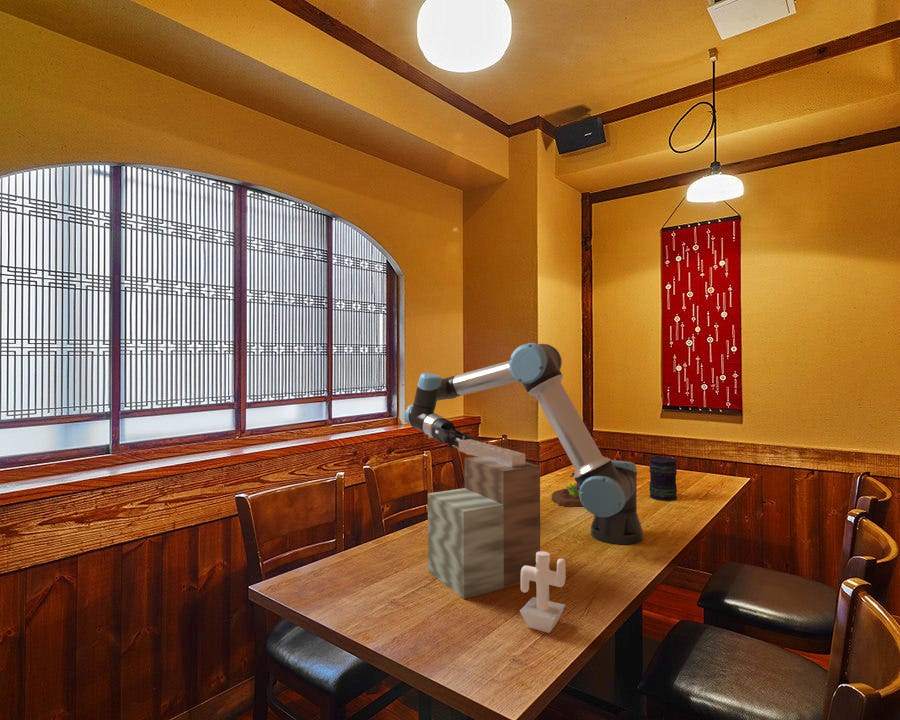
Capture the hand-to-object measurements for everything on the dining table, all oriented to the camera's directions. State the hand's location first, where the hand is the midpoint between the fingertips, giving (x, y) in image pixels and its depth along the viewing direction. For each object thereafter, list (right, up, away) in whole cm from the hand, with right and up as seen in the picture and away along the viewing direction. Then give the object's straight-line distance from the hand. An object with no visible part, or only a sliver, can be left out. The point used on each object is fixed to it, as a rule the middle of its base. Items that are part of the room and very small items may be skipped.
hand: (485, 453), depth 159 cm
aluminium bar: (0, +2, -17) cm, 18 cm away
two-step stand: (-2, -26, -25) cm, 37 cm away
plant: (+38, -26, +42) cm, 62 cm away
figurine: (+8, -27, -50) cm, 58 cm away
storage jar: (+72, -25, +46) cm, 89 cm away
